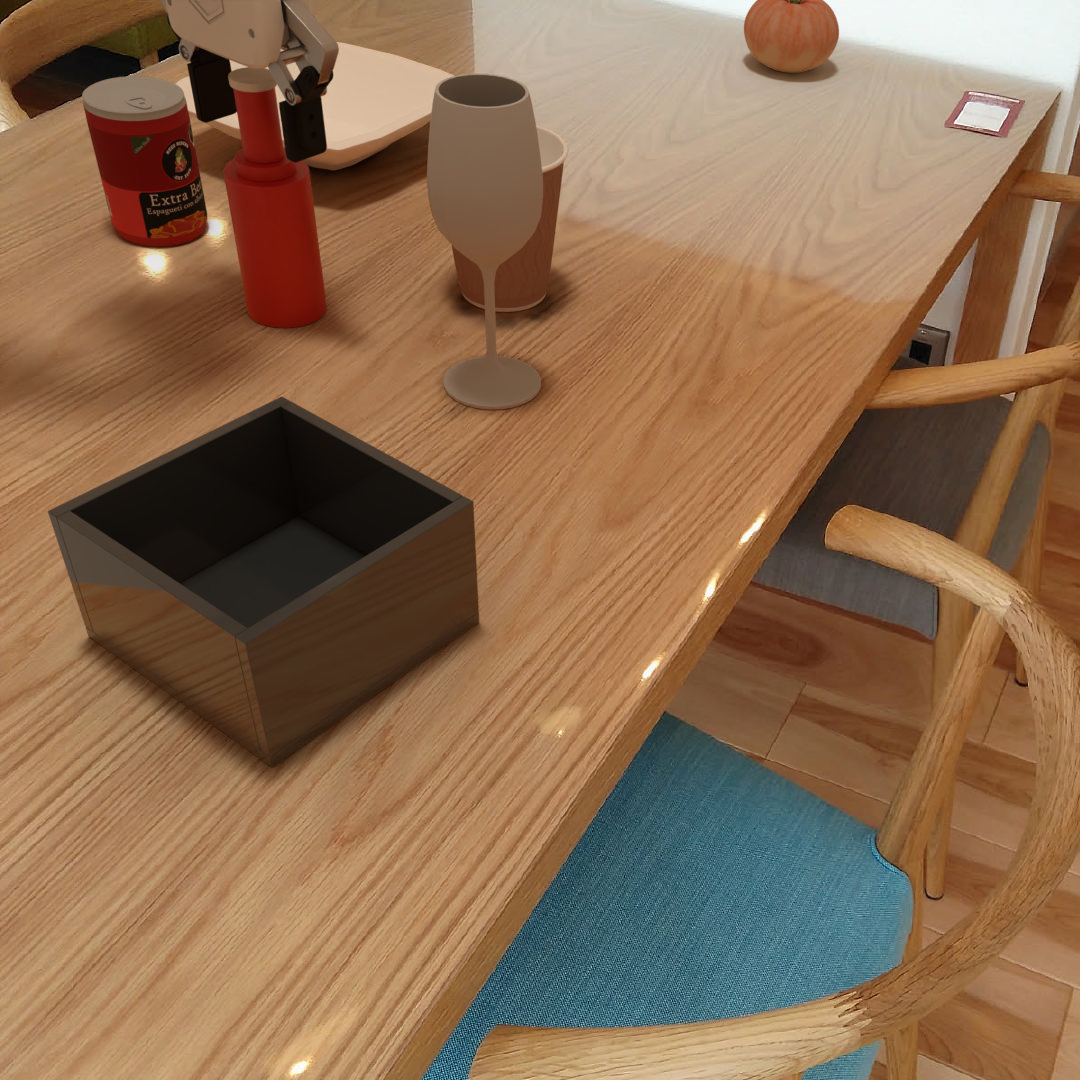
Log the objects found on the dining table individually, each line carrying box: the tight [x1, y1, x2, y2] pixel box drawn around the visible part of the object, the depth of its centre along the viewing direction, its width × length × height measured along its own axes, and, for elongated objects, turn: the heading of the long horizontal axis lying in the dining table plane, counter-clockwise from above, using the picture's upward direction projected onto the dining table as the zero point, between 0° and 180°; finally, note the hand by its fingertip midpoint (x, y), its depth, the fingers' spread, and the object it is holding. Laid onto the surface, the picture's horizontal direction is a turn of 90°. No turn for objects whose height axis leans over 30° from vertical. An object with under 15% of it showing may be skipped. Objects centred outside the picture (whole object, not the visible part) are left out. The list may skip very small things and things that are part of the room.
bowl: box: [174, 41, 455, 171], centre depth 123 cm, size 22×23×6 cm
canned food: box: [81, 75, 208, 248], centre depth 107 cm, size 8×8×11 cm
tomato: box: [743, 0, 840, 74], centre depth 148 cm, size 11×11×8 cm
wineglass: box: [426, 73, 543, 411], centre depth 90 cm, size 8×8×21 cm
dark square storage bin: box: [47, 396, 480, 768], centre depth 73 cm, size 16×16×9 cm
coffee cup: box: [451, 124, 569, 313], centre depth 103 cm, size 10×10×12 cm
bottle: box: [222, 67, 328, 329], centre depth 96 cm, size 6×6×18 cm
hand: (261, 136), depth 93 cm, fingers open, 9 cm apart
